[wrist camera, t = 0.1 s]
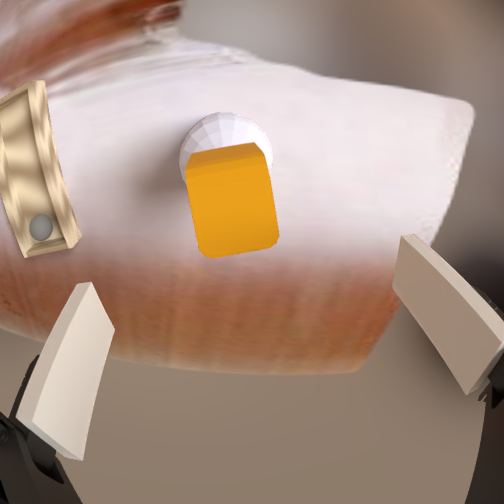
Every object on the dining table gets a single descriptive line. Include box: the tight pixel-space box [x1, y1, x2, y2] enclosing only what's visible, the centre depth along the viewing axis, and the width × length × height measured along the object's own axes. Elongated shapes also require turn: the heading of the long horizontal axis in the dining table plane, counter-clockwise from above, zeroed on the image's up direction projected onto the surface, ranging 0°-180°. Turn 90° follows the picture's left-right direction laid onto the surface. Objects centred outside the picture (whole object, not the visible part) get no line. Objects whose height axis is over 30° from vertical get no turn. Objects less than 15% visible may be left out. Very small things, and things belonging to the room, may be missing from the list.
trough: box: [0, 81, 82, 258], centre depth 30 cm, size 25×11×4 cm, turn 6°
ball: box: [29, 214, 53, 241], centre depth 34 cm, size 4×4×4 cm
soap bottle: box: [178, 112, 279, 258], centre depth 24 cm, size 9×9×25 cm
